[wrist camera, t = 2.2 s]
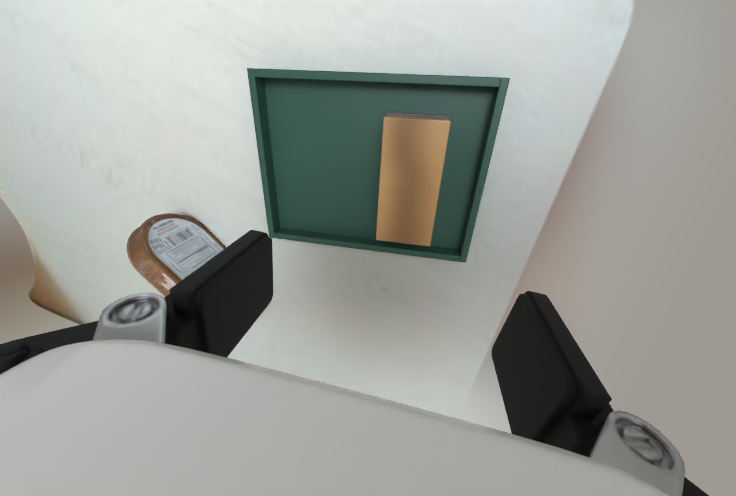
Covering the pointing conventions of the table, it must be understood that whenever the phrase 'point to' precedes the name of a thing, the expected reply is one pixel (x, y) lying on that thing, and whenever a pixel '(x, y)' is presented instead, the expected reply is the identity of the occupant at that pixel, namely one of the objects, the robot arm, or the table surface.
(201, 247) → the tin
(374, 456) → the robot arm
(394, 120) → the eraser
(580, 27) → the table surface
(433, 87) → the tray
